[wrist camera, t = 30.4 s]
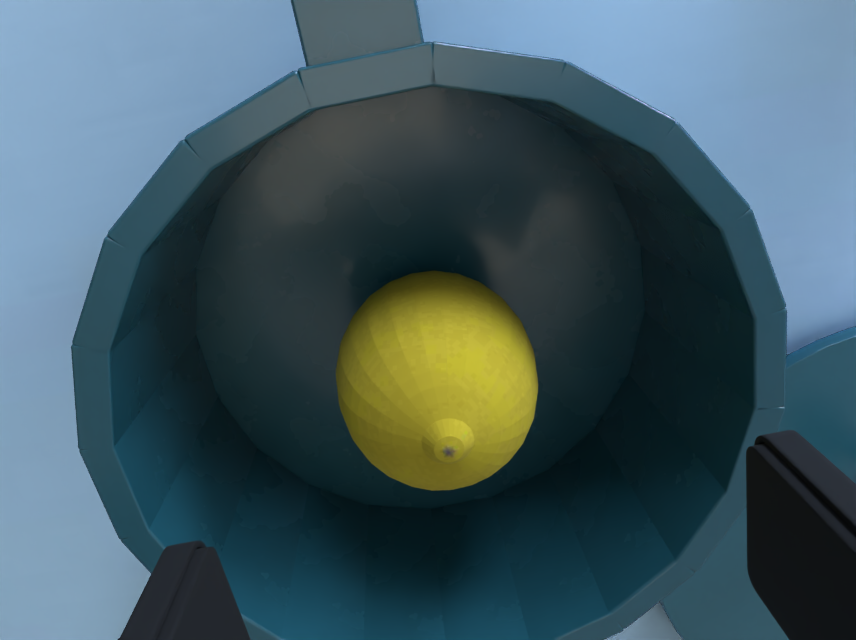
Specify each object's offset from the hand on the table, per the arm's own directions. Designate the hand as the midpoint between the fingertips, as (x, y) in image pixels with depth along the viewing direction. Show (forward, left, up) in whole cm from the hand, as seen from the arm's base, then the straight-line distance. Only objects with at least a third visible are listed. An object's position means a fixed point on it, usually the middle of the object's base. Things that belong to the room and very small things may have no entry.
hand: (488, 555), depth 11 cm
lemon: (0, 0, -12) cm, 12 cm away
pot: (0, 0, -12) cm, 12 cm away
